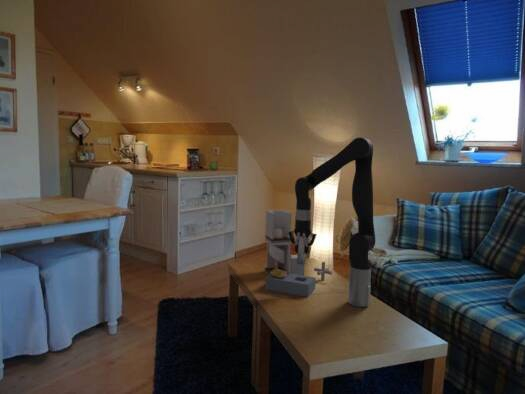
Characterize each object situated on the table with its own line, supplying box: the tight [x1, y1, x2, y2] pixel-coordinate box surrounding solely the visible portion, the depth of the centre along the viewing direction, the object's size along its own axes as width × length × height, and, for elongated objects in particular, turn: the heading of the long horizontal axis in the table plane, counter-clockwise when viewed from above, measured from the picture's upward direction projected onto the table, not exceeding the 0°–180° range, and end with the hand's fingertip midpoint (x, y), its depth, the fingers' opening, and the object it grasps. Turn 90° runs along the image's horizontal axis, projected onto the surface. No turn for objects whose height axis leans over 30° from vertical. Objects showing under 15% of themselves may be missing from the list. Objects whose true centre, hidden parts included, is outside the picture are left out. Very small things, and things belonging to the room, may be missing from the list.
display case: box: [264, 209, 293, 276], centre depth 221 cm, size 11×11×35 cm
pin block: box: [264, 272, 317, 298], centre depth 198 cm, size 22×12×6 cm, turn 67°
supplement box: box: [289, 254, 306, 276], centre depth 213 cm, size 7×7×13 cm
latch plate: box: [270, 268, 290, 279], centre depth 200 cm, size 8×8×1 cm
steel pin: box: [297, 236, 307, 266], centre depth 194 cm, size 4×4×14 cm
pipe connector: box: [313, 261, 333, 282], centre depth 213 cm, size 10×10×10 cm
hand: (301, 252), depth 194 cm, fingers closed on steel pin, 4 cm apart
